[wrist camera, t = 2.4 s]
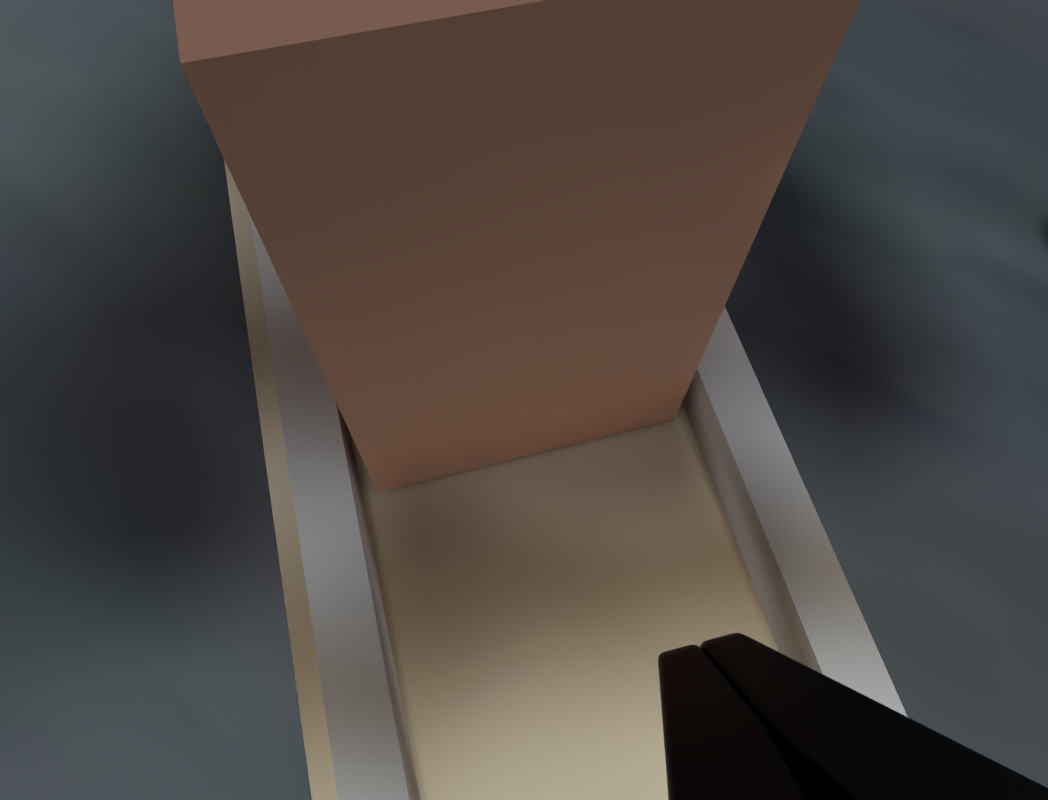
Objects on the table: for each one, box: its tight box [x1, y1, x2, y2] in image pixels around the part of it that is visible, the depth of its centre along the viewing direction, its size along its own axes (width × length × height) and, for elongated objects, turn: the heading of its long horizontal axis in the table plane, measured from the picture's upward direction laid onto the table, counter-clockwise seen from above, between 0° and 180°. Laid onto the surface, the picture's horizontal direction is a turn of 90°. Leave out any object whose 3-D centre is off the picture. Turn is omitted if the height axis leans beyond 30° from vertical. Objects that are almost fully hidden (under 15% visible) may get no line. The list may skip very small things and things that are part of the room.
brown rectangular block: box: [173, 0, 860, 492], centre depth 12 cm, size 4×6×10 cm, turn 105°
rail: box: [224, 160, 907, 800], centre depth 15 cm, size 23×10×6 cm, turn 15°
